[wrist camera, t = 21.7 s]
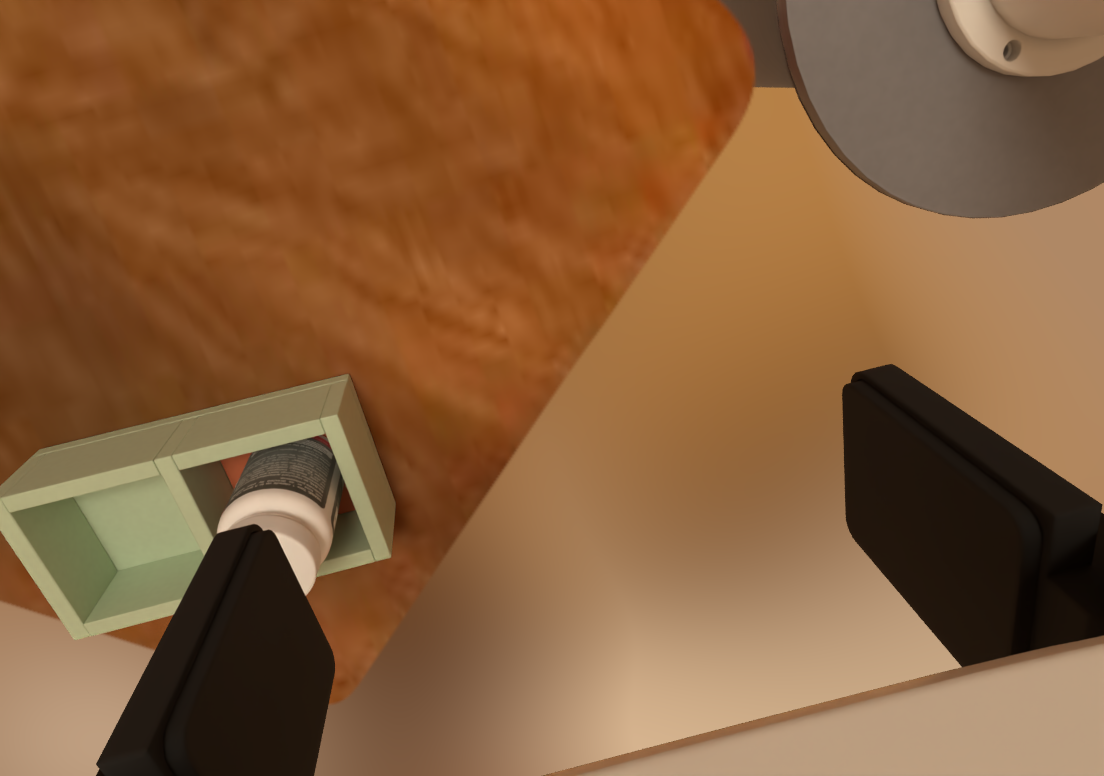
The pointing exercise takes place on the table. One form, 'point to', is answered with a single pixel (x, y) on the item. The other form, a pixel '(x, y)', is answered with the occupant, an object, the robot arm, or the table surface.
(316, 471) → the pill bottle
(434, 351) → the table surface
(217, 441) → the rack
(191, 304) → the table surface
